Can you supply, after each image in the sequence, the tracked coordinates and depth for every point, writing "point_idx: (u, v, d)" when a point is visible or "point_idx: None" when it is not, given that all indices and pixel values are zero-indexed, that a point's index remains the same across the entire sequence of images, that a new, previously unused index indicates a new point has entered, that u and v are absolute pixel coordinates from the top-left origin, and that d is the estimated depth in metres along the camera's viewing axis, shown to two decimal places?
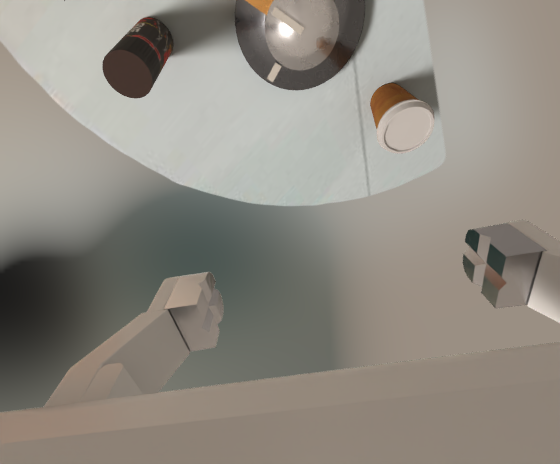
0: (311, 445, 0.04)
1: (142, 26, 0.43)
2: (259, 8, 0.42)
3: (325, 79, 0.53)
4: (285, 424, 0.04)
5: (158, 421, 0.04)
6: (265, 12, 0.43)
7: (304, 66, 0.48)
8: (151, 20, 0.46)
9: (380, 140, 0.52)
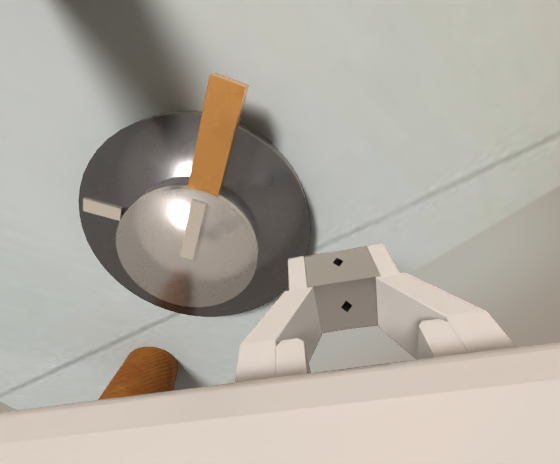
0: (311, 445, 0.04)
1: None
2: (193, 172, 0.21)
3: (136, 292, 0.30)
4: (285, 424, 0.04)
5: (158, 422, 0.04)
6: (191, 185, 0.21)
7: (134, 272, 0.24)
8: None
9: None
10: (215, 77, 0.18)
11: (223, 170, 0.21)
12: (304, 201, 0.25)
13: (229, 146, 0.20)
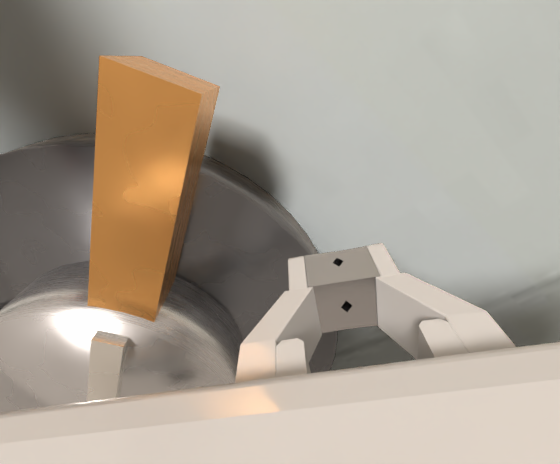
0: (311, 445, 0.04)
1: None
2: (95, 278, 0.09)
3: None
4: (285, 424, 0.04)
5: (158, 421, 0.04)
6: (94, 301, 0.10)
7: None
8: None
9: None
10: (116, 64, 0.06)
11: (161, 276, 0.09)
12: None
13: (170, 231, 0.08)
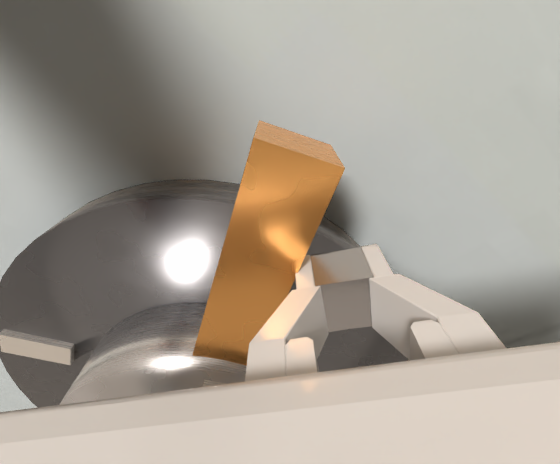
0: (311, 445, 0.04)
1: None
2: (205, 331, 0.10)
3: None
4: (285, 424, 0.04)
5: (158, 421, 0.04)
6: (200, 351, 0.10)
7: None
8: None
9: None
10: (267, 145, 0.07)
11: None
12: None
13: (288, 287, 0.09)
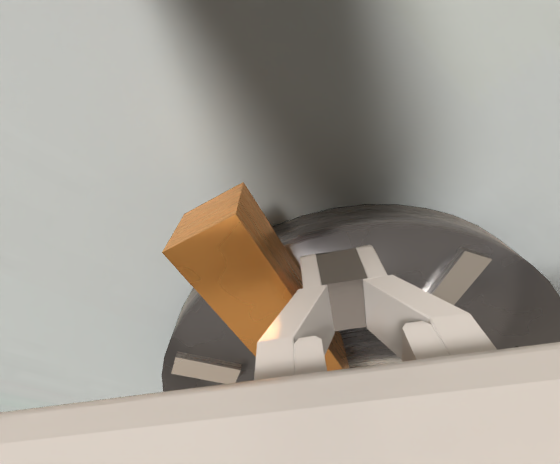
0: (311, 445, 0.04)
1: None
2: None
3: None
4: (285, 424, 0.04)
5: (159, 421, 0.04)
6: None
7: None
8: None
9: None
10: (174, 248, 0.08)
11: (327, 350, 0.10)
12: None
13: None
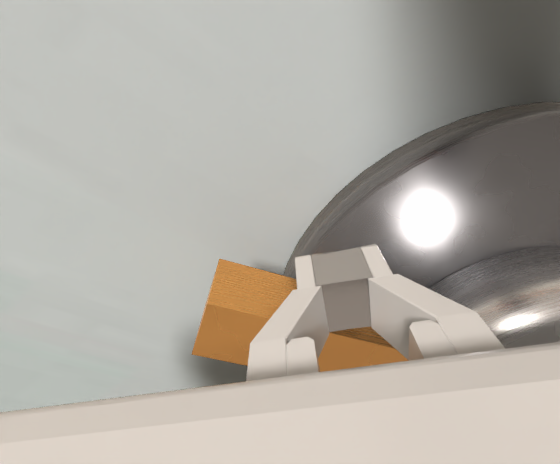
0: (311, 445, 0.04)
1: None
2: None
3: None
4: (285, 424, 0.04)
5: (158, 422, 0.04)
6: None
7: None
8: None
9: None
10: (195, 347, 0.09)
11: (381, 346, 0.09)
12: None
13: (330, 334, 0.09)
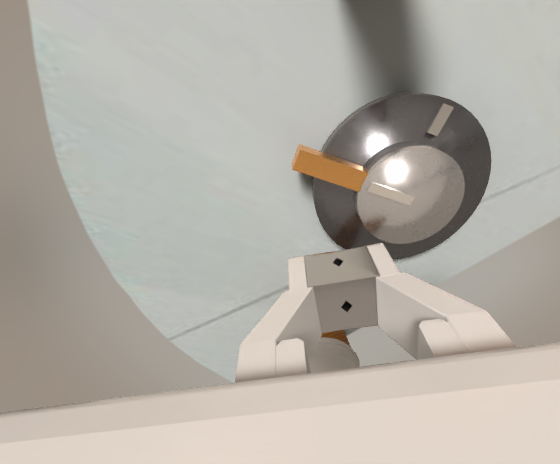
0: (311, 445, 0.04)
1: None
2: (349, 186, 0.32)
3: (334, 237, 0.38)
4: (285, 424, 0.04)
5: (158, 422, 0.04)
6: (357, 189, 0.32)
7: (416, 237, 0.34)
8: None
9: None
10: (294, 166, 0.31)
11: (350, 167, 0.31)
12: (490, 161, 0.33)
13: (334, 162, 0.30)
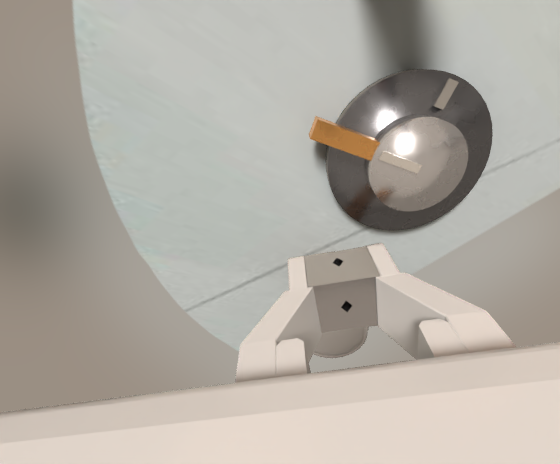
0: (311, 445, 0.04)
1: None
2: (362, 155, 0.34)
3: (346, 208, 0.41)
4: (285, 424, 0.04)
5: (158, 422, 0.04)
6: (369, 158, 0.34)
7: (423, 205, 0.37)
8: None
9: None
10: (311, 136, 0.33)
11: (363, 137, 0.33)
12: (491, 134, 0.36)
13: (349, 131, 0.33)
